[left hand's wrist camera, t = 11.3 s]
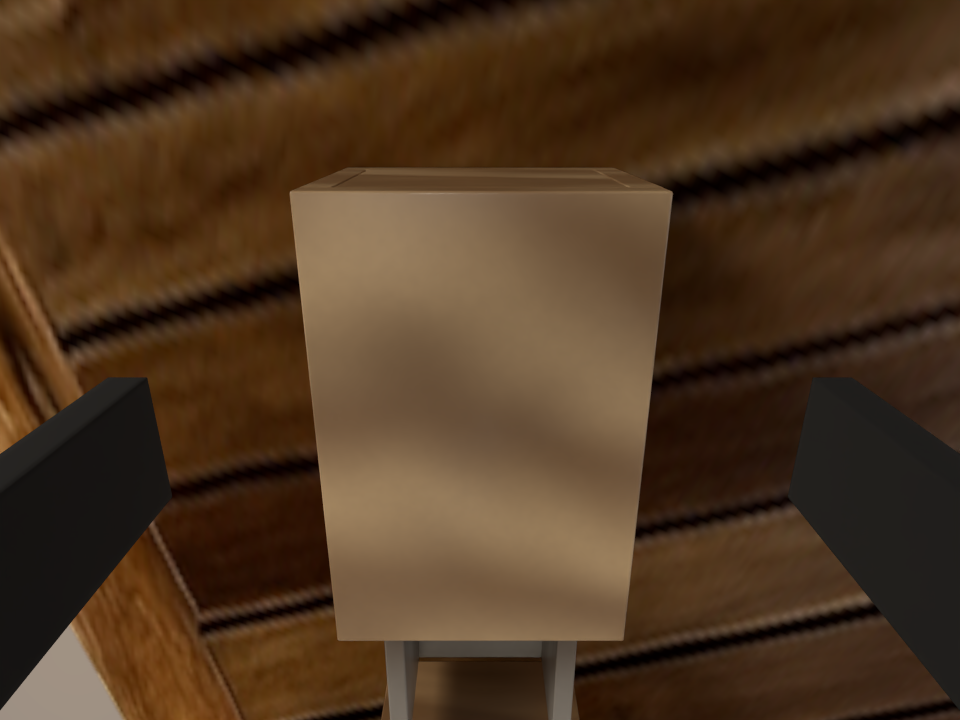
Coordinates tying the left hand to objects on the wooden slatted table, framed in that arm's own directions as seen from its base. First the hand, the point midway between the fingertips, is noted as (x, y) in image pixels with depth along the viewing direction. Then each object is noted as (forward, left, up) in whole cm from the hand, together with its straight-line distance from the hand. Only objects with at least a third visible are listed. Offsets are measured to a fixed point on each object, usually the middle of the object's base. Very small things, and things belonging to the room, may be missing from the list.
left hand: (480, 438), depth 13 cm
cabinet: (+1, +4, -15) cm, 16 cm away
